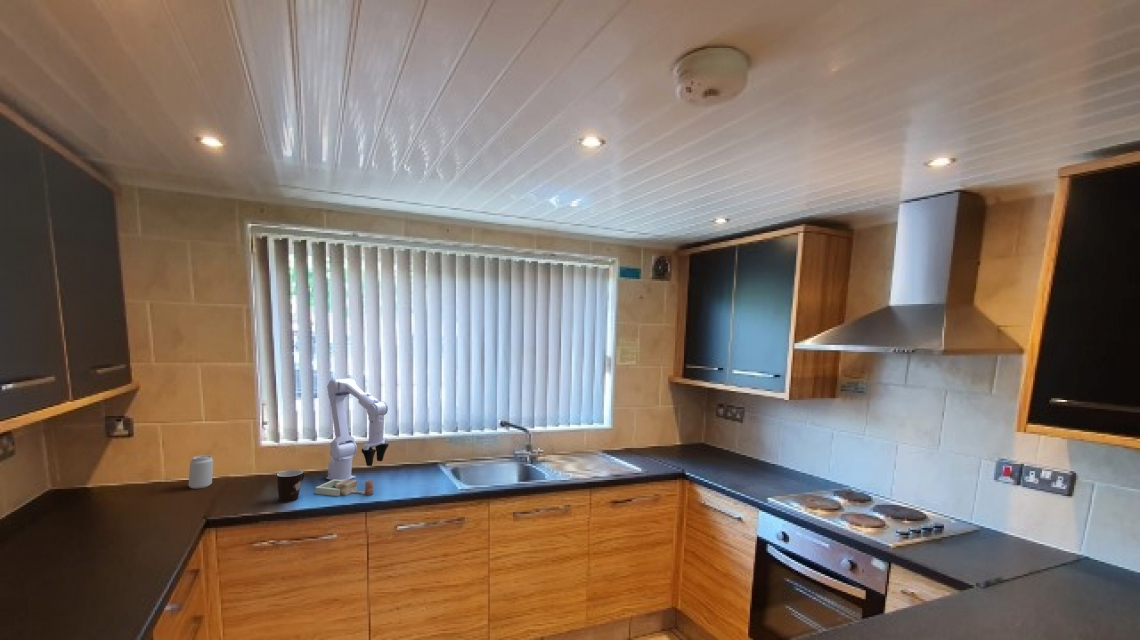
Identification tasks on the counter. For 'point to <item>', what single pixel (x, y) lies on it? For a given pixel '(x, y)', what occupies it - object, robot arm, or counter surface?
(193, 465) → the can
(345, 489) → the wooden toy mallet
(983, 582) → the counter surface
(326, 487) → the lane
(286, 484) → the coffee mug
